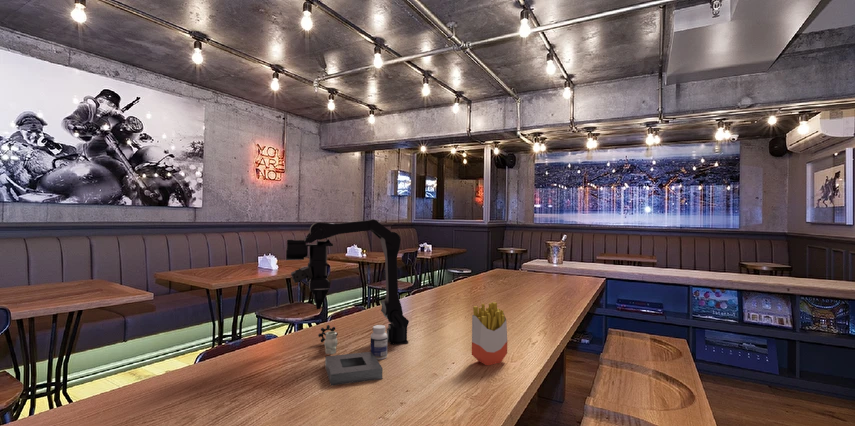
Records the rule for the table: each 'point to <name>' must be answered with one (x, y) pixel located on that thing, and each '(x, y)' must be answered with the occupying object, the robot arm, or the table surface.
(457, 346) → the table surface
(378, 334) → the pill bottle
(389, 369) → the table surface
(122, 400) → the table surface
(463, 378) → the table surface
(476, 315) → the french fries container
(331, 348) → the valve
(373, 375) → the holder
